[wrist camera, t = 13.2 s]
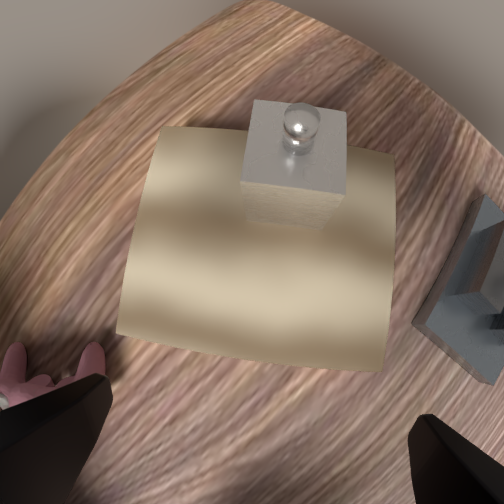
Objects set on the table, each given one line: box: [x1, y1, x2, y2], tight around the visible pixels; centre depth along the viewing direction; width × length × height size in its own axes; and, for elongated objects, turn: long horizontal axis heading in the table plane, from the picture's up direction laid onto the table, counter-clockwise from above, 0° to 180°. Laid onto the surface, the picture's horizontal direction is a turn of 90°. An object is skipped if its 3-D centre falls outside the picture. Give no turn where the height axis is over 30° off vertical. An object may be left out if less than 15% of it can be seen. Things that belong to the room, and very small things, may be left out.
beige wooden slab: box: [116, 126, 396, 372], centre depth 19 cm, size 14×16×3 cm
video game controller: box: [0, 342, 106, 410], centre depth 17 cm, size 10×5×7 cm, turn 97°
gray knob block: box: [240, 100, 347, 230], centre depth 15 cm, size 4×4×8 cm
